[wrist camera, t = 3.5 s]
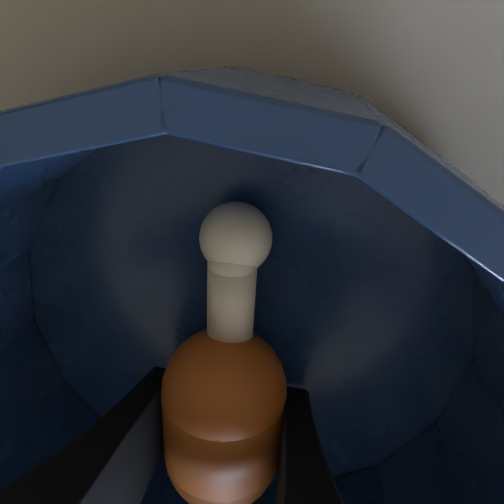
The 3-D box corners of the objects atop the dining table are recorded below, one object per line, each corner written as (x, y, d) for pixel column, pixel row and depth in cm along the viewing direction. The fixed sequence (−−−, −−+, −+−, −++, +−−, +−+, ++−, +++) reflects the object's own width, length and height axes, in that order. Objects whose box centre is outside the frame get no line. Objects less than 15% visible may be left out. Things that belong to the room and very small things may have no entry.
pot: (293, 533, 18) (284, 704, 13) (-30, 350, 16) (-176, 472, 11) (626, 295, 11) (849, 468, 6) (135, -72, 9) (-55, -205, 5)
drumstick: (280, 446, 15) (268, 552, 12) (185, 430, 15) (149, 527, 12) (310, 198, 11) (305, 258, 8) (179, 185, 11) (122, 236, 8)
